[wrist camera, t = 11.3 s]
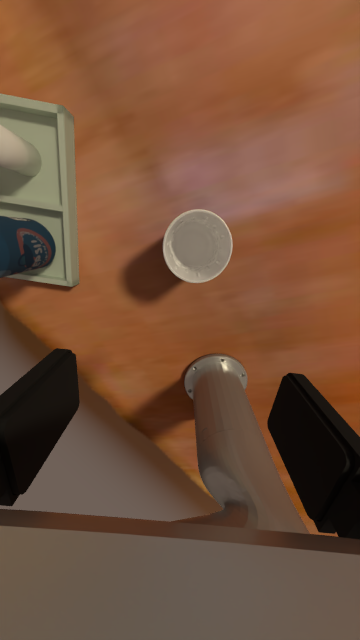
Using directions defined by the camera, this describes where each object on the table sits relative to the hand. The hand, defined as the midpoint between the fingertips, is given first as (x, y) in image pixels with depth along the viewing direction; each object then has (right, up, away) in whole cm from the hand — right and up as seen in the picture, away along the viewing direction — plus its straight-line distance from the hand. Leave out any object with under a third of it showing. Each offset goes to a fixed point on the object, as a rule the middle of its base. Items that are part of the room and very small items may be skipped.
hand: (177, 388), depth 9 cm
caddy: (-21, +20, +21) cm, 36 cm away
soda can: (-22, +15, +23) cm, 35 cm away
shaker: (-20, +25, +18) cm, 37 cm away
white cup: (+2, +15, +24) cm, 28 cm away
